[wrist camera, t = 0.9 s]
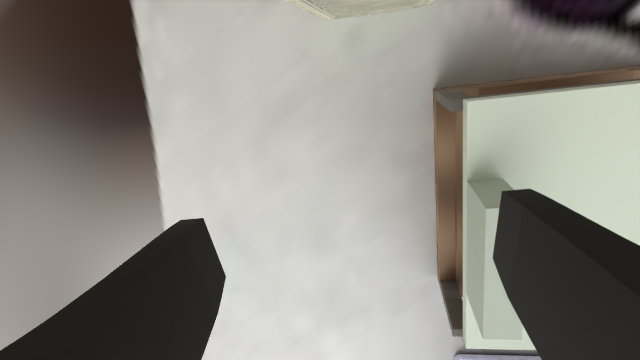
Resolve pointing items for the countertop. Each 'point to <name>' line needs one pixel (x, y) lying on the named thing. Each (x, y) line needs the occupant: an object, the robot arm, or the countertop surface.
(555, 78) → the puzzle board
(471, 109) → the lid
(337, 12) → the skincare box
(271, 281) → the countertop surface
